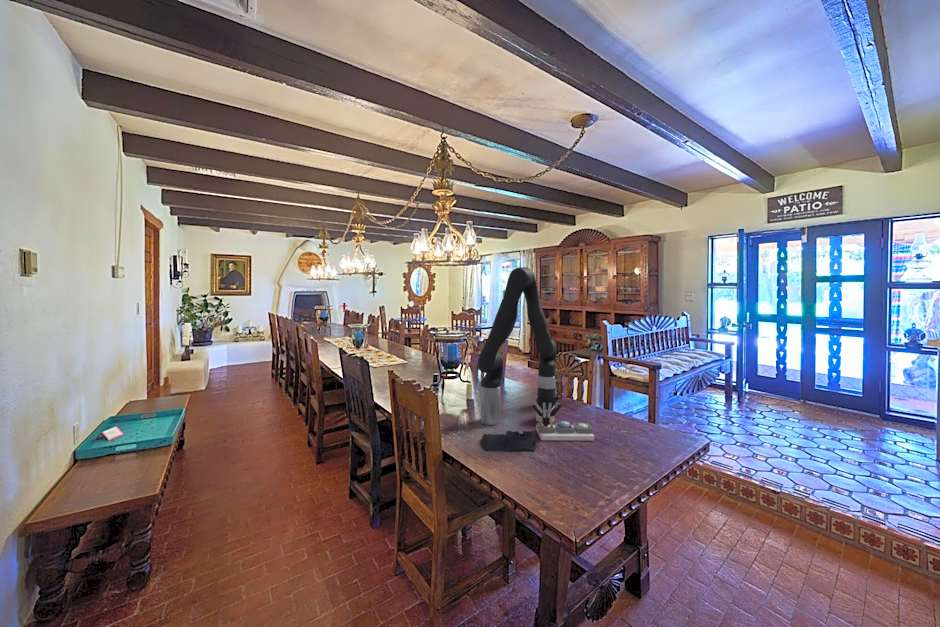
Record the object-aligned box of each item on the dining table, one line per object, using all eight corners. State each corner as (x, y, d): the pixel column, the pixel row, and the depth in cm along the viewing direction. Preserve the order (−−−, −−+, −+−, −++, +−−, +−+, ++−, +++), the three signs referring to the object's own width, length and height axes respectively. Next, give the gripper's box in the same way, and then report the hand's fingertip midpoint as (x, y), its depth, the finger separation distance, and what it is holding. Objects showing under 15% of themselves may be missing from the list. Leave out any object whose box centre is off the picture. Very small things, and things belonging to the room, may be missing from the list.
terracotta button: (541, 431, 159) (541, 427, 159) (539, 427, 164) (539, 423, 164) (551, 431, 159) (551, 427, 159) (549, 427, 164) (549, 423, 164)
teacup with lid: (557, 423, 175) (557, 398, 174) (538, 423, 174) (538, 399, 173) (549, 414, 187) (549, 391, 186) (531, 415, 186) (532, 392, 185)
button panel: (540, 440, 156) (540, 430, 155) (535, 429, 168) (535, 420, 167) (594, 440, 156) (594, 431, 155) (585, 429, 168) (586, 420, 167)
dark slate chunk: (481, 437, 160) (481, 426, 159) (532, 437, 160) (532, 426, 160) (482, 453, 145) (482, 441, 144) (539, 453, 145) (539, 441, 145)
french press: (543, 407, 198) (543, 364, 196) (537, 402, 207) (538, 361, 206) (564, 406, 200) (565, 364, 198) (557, 401, 209) (558, 360, 207)
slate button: (560, 429, 159) (560, 424, 159) (557, 425, 164) (558, 420, 163) (570, 429, 159) (570, 424, 159) (568, 425, 164) (568, 420, 163)
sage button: (579, 431, 159) (579, 427, 159) (576, 427, 164) (576, 423, 164) (589, 431, 159) (589, 427, 159) (586, 427, 164) (586, 423, 163)
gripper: (532, 388, 156) (531, 428, 157) (564, 388, 156) (563, 428, 157) (529, 383, 164) (529, 422, 165) (560, 383, 164) (559, 422, 165)
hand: (545, 425), depth 161 cm, fingers closed
